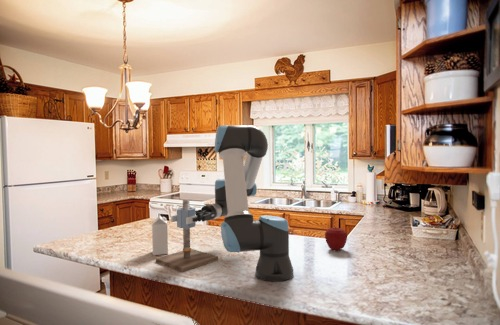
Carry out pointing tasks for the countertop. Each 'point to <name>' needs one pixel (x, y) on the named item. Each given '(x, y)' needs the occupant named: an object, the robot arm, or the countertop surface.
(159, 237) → the milk carton
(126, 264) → the countertop surface
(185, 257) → the post stand
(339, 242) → the apple
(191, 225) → the sleeve
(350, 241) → the countertop surface
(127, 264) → the countertop surface
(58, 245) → the countertop surface
